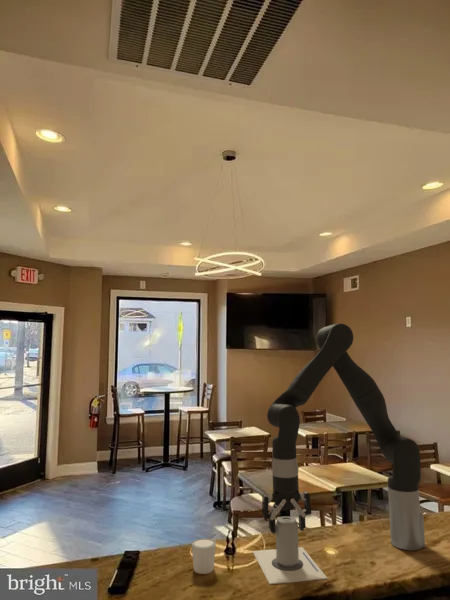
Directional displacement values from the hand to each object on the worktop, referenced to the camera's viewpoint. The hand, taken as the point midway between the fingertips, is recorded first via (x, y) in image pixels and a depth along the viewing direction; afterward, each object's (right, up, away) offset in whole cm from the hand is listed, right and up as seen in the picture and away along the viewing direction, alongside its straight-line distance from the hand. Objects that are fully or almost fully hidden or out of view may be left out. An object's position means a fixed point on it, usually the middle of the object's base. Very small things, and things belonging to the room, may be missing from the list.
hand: (287, 531), depth 130 cm
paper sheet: (0, -9, -1) cm, 9 cm away
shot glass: (-24, -9, -3) cm, 26 cm away
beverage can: (0, -9, -1) cm, 9 cm away
